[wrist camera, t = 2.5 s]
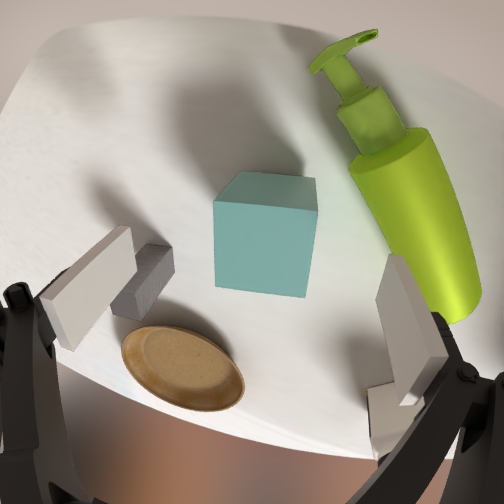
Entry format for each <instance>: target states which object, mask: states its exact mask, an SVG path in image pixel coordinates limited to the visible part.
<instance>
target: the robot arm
mask: <svg viewBox="0 0 504 504" xmlns="http://www.w3.org/2000/svg"><path fill="white" fill-rule="evenodd" d="M136 272H137V266H136V260H135V254H134V248H133V241H132V234H131V227H130V226H120V225H119V226H117V227H116V228H115V229H114V230H112V231H111V232H110V233H109V234H108V235H106V236H105V237H104V238H103V239H102V240H101V241H99V242H98V243H97V244H96V245H95V246H94V247H92V248H91V249H90V250H89V251H88V252H87V253H86V254H84V255H83V256H82V257H81V258H80V259H79V260H78V261H77V262H75V263H74V264H73V265H72V266H71V267H69V268H67V269H65V270H64V271H62V272H61V273H60V274H59V275H57V276H56V277H55V279H53V280H52V281H51V282H50V284H48V285H47V286H46V287H45V288H44V289H43V290H42V291H41V292H40V293H39V294H38V295H36V296H35V297H34V298H33V297H32V294H31V292H30V289H29V286H28V284H27V283H25V282H18V283H15V284H12V285H11V286H9V287H8V288H7V289H6V290H5V291H4V293H3V296H4V299H5V301H6V303H7V305H8V308H3V306H2V304H1V301H0V444H1V437H2V431H3V444H4V451H3V453H1V454H0V500H1V504H108V503H105V502H103V501H101V500H99V499H97V498H94V499H93V502H91V501H90V498H89V496H88V494H87V492H86V490H85V489H84V487H83V486H82V485H81V483H80V481H79V479H78V476H77V473H76V469H75V466H74V462H73V458H72V454H71V450H70V446H69V441H68V437H67V432H66V427H65V422H64V416H63V411H62V405H61V398H60V391H59V383H58V375H57V365H56V353H55V346H54V344H53V341H54V340H55V338H56V337H57V339H58V341H59V343H60V345H61V347H63V348H65V349H68V350H71V351H73V352H74V350H75V349H76V348H77V346H78V345H79V344H80V342H81V341H82V340H83V338H84V337H85V336H86V334H87V333H88V332H89V330H90V329H91V328H92V327H93V325H94V324H95V323H96V321H97V320H98V319H99V317H100V316H101V315H102V314H103V312H104V311H105V310H106V309H107V307H108V306H109V305H110V304H111V302H112V301H113V300H114V299H115V297H116V296H117V295H118V294H119V292H120V291H121V290H122V289H123V288H124V286H125V285H126V284H127V283H128V281H129V280H130V279H131V278H132V277H133V275H134V274H135V273H136ZM375 301H376V304H377V308H378V312H379V316H380V319H381V323H382V327H383V332H384V336H385V340H386V344H387V349H388V353H389V358H390V362H391V367H392V372H393V377H394V382H395V387H396V392H397V398H398V404H399V406H404V405H417V403H418V402H419V401H420V399H421V398H422V396H423V398H424V402H425V405H424V406H423V407H422V409H421V410H420V411H419V412H418V414H417V415H416V416H415V417H414V421H413V422H412V424H411V425H410V427H409V428H408V429H407V431H406V432H405V434H404V435H403V436H402V438H401V439H400V441H399V442H398V443H397V445H396V446H395V447H394V449H393V450H392V451H391V452H390V454H389V455H388V456H387V457H386V459H385V460H384V461H383V462H382V464H381V465H380V466H379V467H378V469H377V470H376V471H375V472H374V473H373V474H372V476H371V477H370V478H369V479H368V480H367V481H366V482H365V484H364V485H363V486H362V487H361V488H360V489H359V490H358V491H357V492H356V493H355V494H354V495H353V497H352V498H351V499H350V500H349V501H348V502H347V503H346V504H416V502H417V501H418V499H419V498H420V497H421V495H422V494H423V492H424V491H425V489H426V488H427V486H428V485H429V483H430V481H431V480H432V478H433V477H434V475H435V473H436V472H437V470H438V468H439V467H440V465H441V463H442V462H443V460H444V458H445V456H446V455H447V453H448V451H449V449H450V447H451V445H452V443H453V442H454V440H455V438H456V436H457V434H458V432H459V430H460V433H459V437H458V442H457V446H456V450H455V454H454V458H453V462H452V466H451V469H450V473H449V476H448V479H447V482H446V485H445V489H444V492H443V495H442V498H441V500H440V503H439V504H504V372H502V373H500V374H499V375H498V376H497V377H496V378H495V380H490V379H486V378H482V377H480V376H479V372H478V371H477V369H476V368H475V367H474V366H473V365H471V364H470V363H467V362H465V361H463V358H462V356H461V354H460V351H459V349H458V346H457V344H456V342H455V339H454V338H453V335H452V333H451V331H450V328H449V326H448V324H447V322H446V320H445V319H444V318H443V317H442V316H441V315H440V313H439V312H430V310H429V308H428V306H427V303H426V301H425V299H424V297H423V295H422V293H421V291H420V289H419V286H418V284H417V282H416V280H415V278H414V276H413V274H412V272H411V270H410V268H409V266H408V264H407V262H406V261H405V259H404V257H403V256H401V255H393V254H389V256H388V259H387V263H386V267H385V270H384V273H383V277H382V280H381V284H380V287H379V290H378V293H377V296H376V299H375ZM460 427H461V428H460Z"/></svg>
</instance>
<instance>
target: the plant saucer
mask: <svg viewBox="0 0 504 504" xmlns="http://www.w3.org/2000/svg"><path fill="white" fill-rule="evenodd" d="M121 352H122V358H123V361H124V364H125V366H126V368H127V369H128V371H129V372H130V374H131V375H132V376H133V378H134V379H135V380H136V381H137V382H138V383H139V384H140V385H141V386H142V387H144V388H145V389H146V390H147V391H149V392H150V393H152V394H153V395H155V396H156V397H158V398H160V399H162V400H164V401H166V402H168V403H170V404H173V405H175V406H178V407H181V408H184V409H188V410H194V411H200V412H216V411H222V410H225V409H228V408H231V407H233V406H234V405H236V404H237V403H238V402H239V401H240V400H241V398H242V397H243V394H244V390H245V384H244V380H243V377H242V375H241V373H240V371H239V369H238V367H237V366H236V364H235V363H234V362H233V360H232V359H231V358H230V357H229V356H228V355H227V353H226V352H225V351H223V350H222V349H221V348H220V347H219V346H218V345H217V344H215V343H214V342H212V341H211V340H209V339H208V338H206V337H204V336H202V335H200V334H198V333H196V332H194V331H191V330H188V329H184V328H180V327H174V326H148V327H142V328H139V329H136V330H134V331H132V332H130V333H129V334H128V335H127V336H126V337H125V339H124V341H123V343H122V347H121Z"/></svg>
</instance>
